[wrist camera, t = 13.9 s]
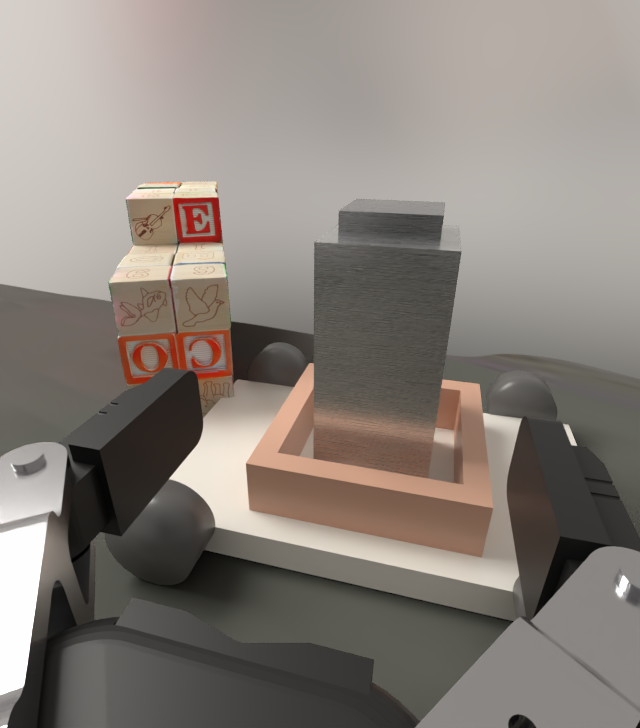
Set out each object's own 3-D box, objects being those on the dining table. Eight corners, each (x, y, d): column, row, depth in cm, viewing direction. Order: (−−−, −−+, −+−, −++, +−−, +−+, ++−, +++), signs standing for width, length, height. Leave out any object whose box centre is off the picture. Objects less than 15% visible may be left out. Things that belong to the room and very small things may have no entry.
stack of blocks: (239, 421, 29) (222, 218, 23) (134, 432, 28) (89, 221, 22) (228, 306, 47) (217, 178, 42) (165, 310, 46) (145, 179, 41)
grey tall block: (313, 484, 21) (314, 212, 16) (336, 425, 25) (344, 196, 20) (423, 505, 20) (465, 219, 15) (429, 439, 24) (462, 201, 19)
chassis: (99, 569, 19) (77, 493, 17) (250, 385, 32) (247, 332, 31) (657, 711, 14) (707, 629, 12) (555, 427, 28) (571, 369, 26)
